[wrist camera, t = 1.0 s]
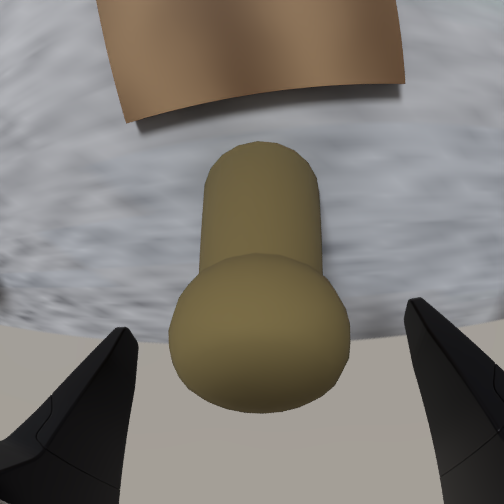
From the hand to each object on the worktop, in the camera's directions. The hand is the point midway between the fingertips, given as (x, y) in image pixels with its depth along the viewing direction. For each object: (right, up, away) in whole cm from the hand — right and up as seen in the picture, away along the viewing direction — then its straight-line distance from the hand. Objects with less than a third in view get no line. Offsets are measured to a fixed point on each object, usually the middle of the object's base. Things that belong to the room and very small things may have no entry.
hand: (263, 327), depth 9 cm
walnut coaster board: (-1, +15, 0) cm, 15 cm away
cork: (0, +5, +7) cm, 9 cm away
